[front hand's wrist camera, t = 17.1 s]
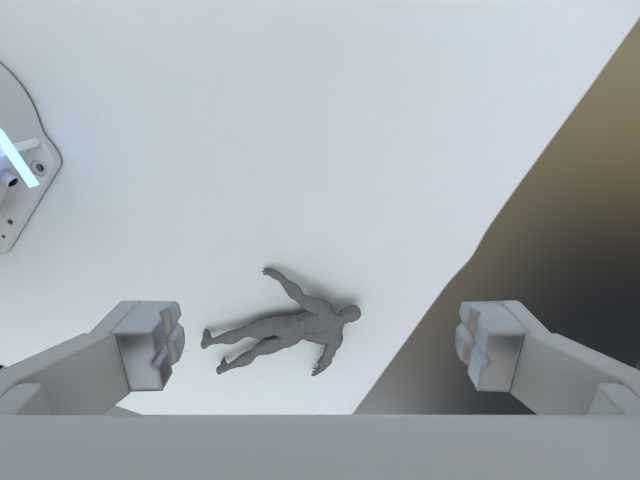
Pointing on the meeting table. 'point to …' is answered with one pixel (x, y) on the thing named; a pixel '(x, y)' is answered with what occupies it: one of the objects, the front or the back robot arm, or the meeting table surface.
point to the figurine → (289, 328)
